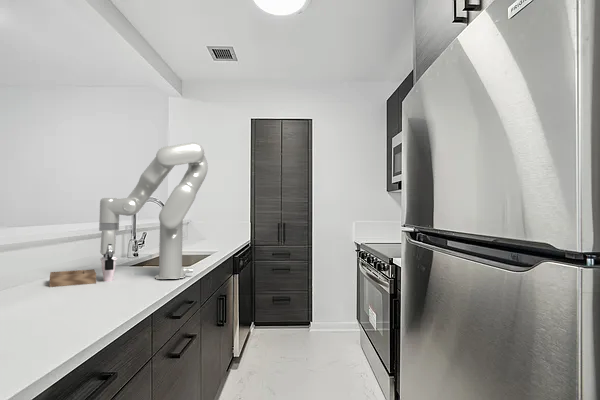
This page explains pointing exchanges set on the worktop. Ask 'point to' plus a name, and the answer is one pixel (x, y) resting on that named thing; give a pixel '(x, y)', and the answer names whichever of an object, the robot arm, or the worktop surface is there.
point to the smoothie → (108, 274)
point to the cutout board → (72, 277)
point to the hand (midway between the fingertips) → (107, 268)
